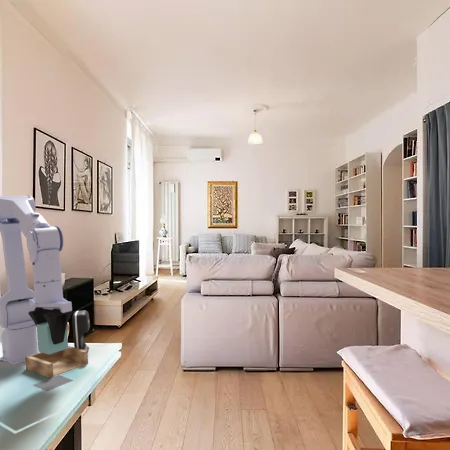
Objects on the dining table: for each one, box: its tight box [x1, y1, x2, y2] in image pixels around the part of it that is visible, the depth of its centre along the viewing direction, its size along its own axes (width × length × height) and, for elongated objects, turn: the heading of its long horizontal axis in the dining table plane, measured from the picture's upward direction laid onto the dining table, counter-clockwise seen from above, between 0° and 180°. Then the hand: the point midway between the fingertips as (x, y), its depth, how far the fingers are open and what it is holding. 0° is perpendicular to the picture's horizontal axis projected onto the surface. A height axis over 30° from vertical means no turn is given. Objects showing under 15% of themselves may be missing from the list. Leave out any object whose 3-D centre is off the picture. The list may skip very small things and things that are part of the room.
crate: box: [25, 345, 89, 379], centre depth 94 cm, size 11×10×3 cm
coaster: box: [33, 374, 74, 392], centre depth 83 cm, size 6×6×1 cm
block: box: [36, 322, 69, 354], centre depth 85 cm, size 4×4×6 cm
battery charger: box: [71, 309, 91, 354], centre depth 103 cm, size 7×4×11 cm, turn 15°
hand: (52, 341), depth 85 cm, fingers closed on block, 4 cm apart
